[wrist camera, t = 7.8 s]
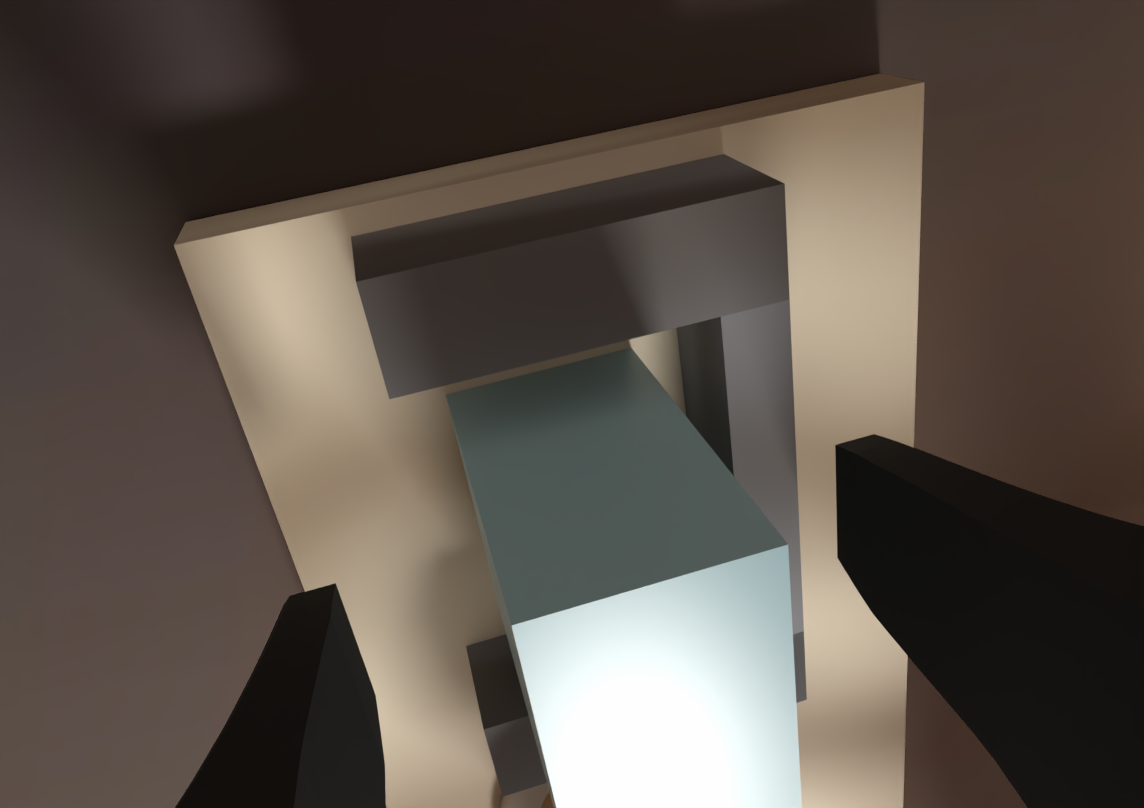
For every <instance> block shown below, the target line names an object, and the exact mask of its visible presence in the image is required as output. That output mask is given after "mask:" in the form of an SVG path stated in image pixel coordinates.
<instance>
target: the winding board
mask: <svg viewBox="0 0 1144 808" xmlns="http://www.w3.org/2000/svg"><path fill="white" fill-rule="evenodd" d="M924 83H925V82H921V81H916V80H912V79H907V78H902V77H897V76H892V75H887V74H883V73H880V74H875V75H871V76H866V77H861V78H857V79H852V80H847V81H843V82H838V83H833V84H829V85H824V86H819V87H815V88H810V89H805V90H801V91H796V92H791V93H787V94H782V95H777V96H773V97H768V98H763V99H759V100H754V101H749V102H745V103H740V104H735V105H731V106H726V107H721V108H717V109H712V110H707V111H702V112H698V113H693V114H688V115H684V116H679V117H674V118H670V119H665V120H660V121H656V122H651V123H646V124H642V125H637V126H632V127H628V128H623V129H618V130H614V131H609V132H604V133H600V134H595V135H590V136H586V137H581V138H576V139H572V140H567V141H562V142H558V143H553V144H548V145H544V146H539V147H534V148H530V149H525V150H520V151H516V152H511V153H506V154H502V155H497V156H492V157H488V158H483V159H478V160H474V161H469V162H464V163H460V164H455V165H450V166H446V167H441V168H436V169H432V170H427V171H422V172H417V173H413V174H408V175H403V176H399V177H394V178H389V179H385V180H380V181H375V182H371V183H366V184H361V185H357V186H352V187H347V188H343V189H338V190H333V191H329V192H324V193H319V194H315V195H310V196H305V197H301V198H296V199H291V200H287V201H282V202H277V203H273V204H268V205H263V206H259V207H254V208H249V209H245V210H240V211H235V212H231V213H226V214H221V215H217V216H212V217H207V218H203V219H198V220H193V221H189V222H185V224H184V226H183V228H182V230H181V232H180V234H179V236H178V238H177V240H176V242H175V244H174V247H175V250H176V253H177V255H178V258H179V260H180V263H181V266H182V268H183V271H184V274H185V276H186V279H187V282H188V284H189V287H190V290H191V292H192V295H193V297H194V300H195V303H196V305H197V308H198V311H199V313H200V316H201V319H202V321H203V324H204V326H205V329H206V332H207V334H208V337H209V340H210V342H211V345H212V348H213V350H214V353H215V355H216V358H217V361H218V363H219V366H220V369H221V371H222V374H223V377H224V379H225V382H226V384H227V387H228V390H229V392H230V395H231V398H232V400H233V403H234V406H235V408H236V411H237V413H238V416H239V419H240V421H241V424H242V427H243V429H244V432H245V435H246V437H247V440H248V442H249V445H250V448H251V450H252V453H253V456H254V458H255V461H256V464H257V466H258V469H259V471H260V474H261V477H262V479H263V482H264V485H265V487H266V490H267V493H268V495H269V498H270V500H271V503H272V506H273V508H274V511H275V514H276V516H277V519H278V522H279V524H280V527H281V529H282V532H283V535H284V537H285V540H286V543H287V545H288V548H289V551H290V553H291V556H292V559H293V561H294V564H295V566H296V569H297V572H298V574H299V577H300V580H301V582H302V585H303V588H304V590H305V592H306V591H309V590H313V589H317V588H320V587H324V586H327V585H331V584H335V583H336V585H337V588H338V591H339V594H340V597H341V599H342V602H343V605H344V608H345V611H346V613H347V616H348V619H349V622H350V625H351V628H352V630H353V633H354V636H355V639H356V642H357V644H358V647H359V650H360V653H361V656H362V658H363V661H364V664H365V667H366V670H367V672H368V675H369V678H370V681H371V684H372V686H373V689H374V692H375V695H376V702H377V709H378V716H379V723H380V730H381V738H382V745H383V753H384V761H385V793H386V806H387V808H554V806H553V803H552V799H551V795H550V792H549V788H548V784H547V781H546V777H545V774H544V770H543V766H542V763H541V759H540V755H539V752H538V748H537V744H536V741H535V737H534V733H533V730H532V726H531V723H530V719H529V715H528V712H527V708H526V704H525V701H524V697H523V693H522V690H521V686H520V682H519V679H518V675H517V671H516V668H515V664H514V661H513V657H512V653H511V650H510V646H509V642H508V639H507V635H506V631H505V628H504V624H503V620H502V617H501V613H500V609H499V605H498V601H497V597H496V593H495V589H494V585H493V581H492V577H491V573H490V569H489V565H488V561H487V557H486V553H485V549H484V545H483V541H482V537H481V533H480V530H479V526H478V522H477V518H476V514H475V510H474V506H473V502H472V498H471V494H470V490H469V486H468V482H467V478H466V474H465V470H464V466H463V462H462V458H461V454H460V450H459V446H458V442H457V438H456V434H455V430H454V426H453V422H452V418H451V414H450V411H449V407H448V403H447V399H446V394H450V393H454V392H458V391H462V390H466V389H470V388H474V387H478V386H482V385H486V384H489V383H493V382H497V381H501V380H505V379H509V378H513V377H517V376H521V375H525V374H529V373H533V372H537V371H541V370H545V369H549V368H553V367H557V366H561V365H565V364H569V363H573V362H577V361H581V360H585V359H589V358H593V357H597V356H601V355H604V354H608V353H612V352H616V351H620V350H624V349H628V348H632V349H633V350H634V352H635V353H636V354H637V355H638V357H639V358H640V359H641V360H642V362H643V363H644V364H645V365H646V367H647V368H648V369H649V370H650V372H651V373H652V374H653V375H654V377H655V378H656V379H657V380H658V382H659V383H660V384H661V385H662V387H663V388H664V389H665V390H666V392H667V393H668V394H669V396H670V397H671V398H672V399H673V401H674V402H675V403H676V404H677V406H678V407H679V408H680V409H681V411H682V412H683V413H684V414H685V416H686V417H687V418H688V419H689V421H690V422H691V423H692V424H693V426H694V427H695V428H696V429H697V431H698V432H699V433H700V434H701V436H702V437H703V438H704V439H705V441H706V442H707V443H708V445H709V446H710V447H711V448H712V450H713V451H714V452H715V453H716V455H717V456H718V457H719V458H720V460H721V461H722V462H723V463H724V465H725V466H726V467H727V468H728V470H729V471H730V472H731V473H732V475H733V476H734V477H735V478H736V480H737V481H738V482H739V483H740V485H741V486H742V487H743V488H744V490H745V491H746V492H747V493H748V495H749V496H750V497H751V499H752V500H753V501H754V502H755V504H756V505H757V506H758V507H759V509H760V510H761V511H762V512H763V514H764V515H765V516H766V517H767V519H768V520H769V521H770V522H771V524H772V525H773V526H774V527H775V529H776V530H777V531H778V532H779V534H780V535H781V536H782V537H783V539H784V540H785V541H786V542H787V544H788V551H789V570H790V589H791V609H792V628H793V647H794V666H795V685H796V704H797V723H798V743H799V762H800V781H801V800H802V808H903V795H904V761H905V727H906V693H907V659H908V655H907V654H906V653H905V652H904V651H903V650H902V648H901V647H900V646H899V645H898V644H897V642H896V641H895V640H894V639H893V638H892V636H891V635H890V634H889V633H888V632H887V630H886V629H885V628H884V627H883V626H882V624H881V623H880V622H879V621H878V619H877V618H876V617H875V616H874V615H873V613H872V612H871V610H870V609H869V607H868V606H867V604H866V603H865V601H864V600H863V598H862V597H861V595H860V594H859V592H858V590H857V589H856V587H855V586H854V584H853V582H852V581H851V579H850V578H849V576H848V574H847V573H846V571H845V569H844V568H843V566H842V564H841V563H840V561H839V560H838V558H837V508H836V455H835V445H837V444H840V443H844V442H847V441H851V440H855V439H858V438H862V437H865V436H869V435H873V434H875V435H879V436H882V437H885V438H888V439H891V440H894V441H897V442H900V443H903V444H905V445H908V446H911V447H913V448H914V422H915V388H916V354H917V321H918V287H919V253H920V219H921V185H922V151H923V117H924Z"/></svg>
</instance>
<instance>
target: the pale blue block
mask: <svg viewBox="0 0 1144 808" xmlns="http://www.w3.org/2000/svg"><path fill="white" fill-rule="evenodd" d="M446 399H447V403H448V407H449V411H450V414H451V418H452V422H453V426H454V430H455V434H456V438H457V442H458V446H459V450H460V454H461V458H462V462H463V466H464V470H465V474H466V478H467V482H468V486H469V490H470V494H471V498H472V502H473V506H474V510H475V514H476V518H477V522H478V526H479V530H480V533H481V537H482V541H483V545H484V549H485V553H486V557H487V561H488V565H489V569H490V573H491V577H492V581H493V585H494V589H495V593H496V597H497V601H498V605H499V609H500V613H501V617H502V620H503V624H504V628H505V631H506V635H507V639H508V642H509V646H510V650H511V653H512V657H513V661H514V664H515V668H516V671H517V675H518V679H519V682H520V686H521V690H522V693H523V697H524V701H525V704H526V708H527V712H528V715H529V719H530V723H531V726H532V730H533V733H534V737H535V741H536V744H537V748H538V752H539V755H540V759H541V763H542V766H543V770H544V774H545V777H546V781H547V784H548V788H549V792H550V795H551V799H552V803H553V806H554V808H802V800H801V781H800V762H799V743H798V723H797V704H796V685H795V666H794V647H793V628H792V609H791V589H790V570H789V551H788V544H787V542H786V541H785V540H784V539H783V537H782V536H781V535H780V534H779V532H778V531H777V530H776V529H775V527H774V526H773V525H772V524H771V522H770V521H769V520H768V519H767V517H766V516H765V515H764V514H763V512H762V511H761V510H760V509H759V507H758V506H757V505H756V504H755V502H754V501H753V500H752V499H751V497H750V496H749V495H748V493H747V492H746V491H745V490H744V488H743V487H742V486H741V485H740V483H739V482H738V481H737V480H736V478H735V477H734V476H733V475H732V473H731V472H730V471H729V470H728V468H727V467H726V466H725V465H724V463H723V462H722V461H721V460H720V458H719V457H718V456H717V455H716V453H715V452H714V451H713V450H712V448H711V447H710V446H709V445H708V443H707V442H706V441H705V439H704V438H703V437H702V436H701V434H700V433H699V432H698V431H697V429H696V428H695V427H694V426H693V424H692V423H691V422H690V421H689V419H688V418H687V417H686V416H685V414H684V413H683V412H682V411H681V409H680V408H679V407H678V406H677V404H676V403H675V402H674V401H673V399H672V398H671V397H670V396H669V394H668V393H667V392H666V390H665V389H664V388H663V387H662V385H661V384H660V383H659V382H658V380H657V379H656V378H655V377H654V375H653V374H652V373H651V372H650V370H649V369H648V368H647V367H646V365H645V364H644V363H643V362H642V360H641V359H640V358H639V357H638V355H637V354H636V353H635V352H634V350H633V349H632V348H628V349H624V350H620V351H616V352H612V353H608V354H604V355H601V356H597V357H593V358H589V359H585V360H581V361H577V362H573V363H569V364H565V365H561V366H557V367H553V368H549V369H545V370H541V371H537V372H533V373H529V374H525V375H521V376H517V377H513V378H509V379H505V380H501V381H497V382H493V383H489V384H486V385H482V386H478V387H474V388H470V389H466V390H462V391H458V392H454V393H450V394H446Z"/></svg>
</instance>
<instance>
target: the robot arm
mask: <svg viewBox="0 0 1144 808" xmlns="http://www.w3.org/2000/svg"><path fill="white" fill-rule="evenodd" d="M835 455H836V508H837V558H838V560H839V561H840V563H841V564H842V566H843V568H844V569H845V571H846V573H847V574H848V576H849V578H850V579H851V581H852V582H853V584H854V586H855V587H856V589H857V590H858V592H859V594H860V595H861V597H862V598H863V600H864V601H865V603H866V604H867V606H868V607H869V609H870V610H871V612H872V613H873V615H874V616H875V617H876V618H877V619H878V621H879V622H880V623H881V624H882V626H883V627H884V628H885V629H886V630H887V632H888V633H889V634H890V635H891V636H892V638H893V639H894V640H895V641H896V642H897V644H898V645H899V646H900V647H901V648H902V650H903V651H904V652H905V653H906V654H907V655H908V657H909V658H910V659H911V660H912V661H913V663H914V664H915V665H916V666H917V667H918V668H919V670H920V671H921V672H922V673H923V674H924V675H925V677H926V678H927V679H928V680H929V681H930V682H931V684H932V685H933V686H934V687H935V688H936V689H937V691H938V692H939V693H940V694H941V695H942V696H943V698H944V699H945V700H946V701H947V702H948V703H949V705H950V706H951V707H952V708H953V709H954V710H955V712H956V713H957V714H958V715H959V716H960V718H961V719H962V720H963V721H964V722H965V723H966V725H967V726H968V727H969V728H970V729H971V730H972V732H973V733H974V734H975V735H976V737H977V738H978V739H979V740H980V742H981V743H982V744H983V746H984V747H985V748H986V749H987V751H988V752H989V753H990V754H991V756H992V757H993V758H994V760H995V761H996V762H997V764H998V765H999V767H1000V768H1001V770H1002V771H1003V772H1004V774H1005V775H1006V777H1007V778H1008V780H1009V781H1010V783H1011V784H1012V786H1013V787H1014V788H1015V790H1016V791H1017V793H1018V794H1019V796H1020V797H1021V799H1022V800H1023V801H1024V803H1025V804H1026V806H1027V807H1028V808H1144V526H1140V525H1136V524H1133V523H1129V522H1125V521H1121V520H1118V519H1114V518H1111V517H1107V516H1104V515H1100V514H1097V513H1093V512H1090V511H1087V510H1084V509H1081V508H1078V507H1075V506H1072V505H1069V504H1065V503H1062V502H1059V501H1056V500H1053V499H1050V498H1047V497H1044V496H1041V495H1038V494H1035V493H1033V492H1030V491H1027V490H1024V489H1021V488H1018V487H1016V486H1013V485H1010V484H1007V483H1005V482H1002V481H999V480H997V479H994V478H991V477H989V476H986V475H983V474H981V473H978V472H975V471H973V470H970V469H968V468H965V467H962V466H960V465H957V464H955V463H952V462H950V461H947V460H945V459H942V458H939V457H937V456H934V455H932V454H929V453H926V452H924V451H921V450H919V449H916V448H913V447H911V446H908V445H905V444H903V443H900V442H897V441H894V440H891V439H888V438H885V437H882V436H879V435H875V434H873V435H869V436H865V437H862V438H858V439H855V440H851V441H847V442H844V443H840V444H837V445H835ZM175 808H386V793H385V761H384V753H383V745H382V738H381V730H380V723H379V716H378V709H377V702H376V695H375V692H374V689H373V686H372V684H371V681H370V678H369V675H368V672H367V670H366V667H365V664H364V661H363V658H362V656H361V653H360V650H359V647H358V644H357V642H356V639H355V636H354V633H353V630H352V628H351V625H350V622H349V619H348V616H347V613H346V611H345V608H344V605H343V602H342V599H341V597H340V594H339V591H338V588H337V585H336V583H335V584H331V585H327V586H324V587H320V588H317V589H313V590H309V591H306V592H302V593H299V594H295V595H291V596H289V598H288V599H287V601H286V602H285V604H284V605H283V608H282V610H281V612H280V614H279V617H278V619H277V621H276V623H275V626H274V628H273V630H272V632H271V634H270V637H269V639H268V641H267V643H266V645H265V647H264V650H263V652H262V654H261V656H260V658H259V660H258V662H257V664H256V666H255V668H254V670H253V673H252V675H251V677H250V678H249V680H248V682H247V684H246V686H245V688H244V690H243V692H242V694H241V696H240V698H239V700H238V702H237V704H236V705H235V707H234V709H233V711H232V713H231V715H230V717H229V719H228V721H227V723H226V724H225V726H224V728H223V730H222V732H221V733H220V735H219V737H218V738H217V740H216V742H215V743H214V745H213V747H212V748H211V750H210V752H209V754H208V755H207V757H206V759H205V760H204V762H203V764H202V765H201V767H200V769H199V770H198V772H197V774H196V776H195V777H194V779H193V781H192V782H191V784H190V785H189V787H188V788H187V790H186V792H185V793H184V795H183V796H182V798H181V799H180V801H179V802H178V804H177V805H176V807H175Z"/></svg>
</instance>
